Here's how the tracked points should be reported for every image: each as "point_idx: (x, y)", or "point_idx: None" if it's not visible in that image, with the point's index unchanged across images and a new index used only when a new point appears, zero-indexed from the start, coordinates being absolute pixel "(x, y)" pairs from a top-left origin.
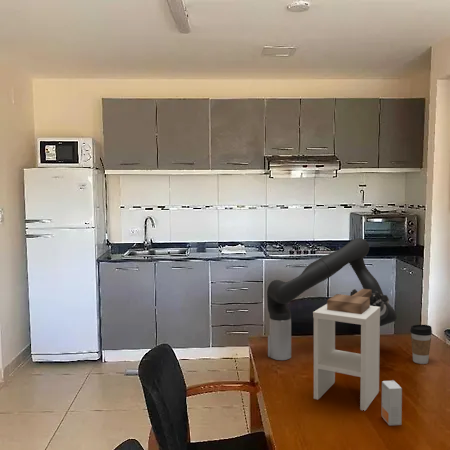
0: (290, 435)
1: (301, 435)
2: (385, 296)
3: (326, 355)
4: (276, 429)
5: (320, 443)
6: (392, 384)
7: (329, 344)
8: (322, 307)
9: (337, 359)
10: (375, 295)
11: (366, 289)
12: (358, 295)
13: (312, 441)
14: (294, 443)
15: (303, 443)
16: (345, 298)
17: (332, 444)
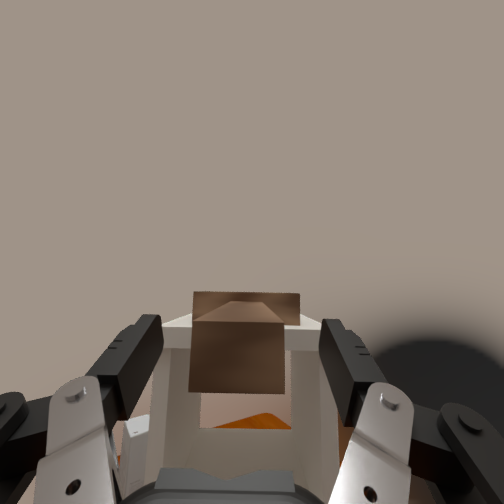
0: (267, 424)
1: (257, 427)
2: (13, 405)
3: (302, 463)
4: (287, 427)
5: (232, 424)
6: (139, 423)
7: (307, 451)
8: (305, 317)
9: (267, 463)
10: (159, 339)
11: (240, 319)
12: (242, 304)
13: (241, 424)
14: (256, 417)
15: (248, 419)
16: (255, 292)
17: (219, 426)
